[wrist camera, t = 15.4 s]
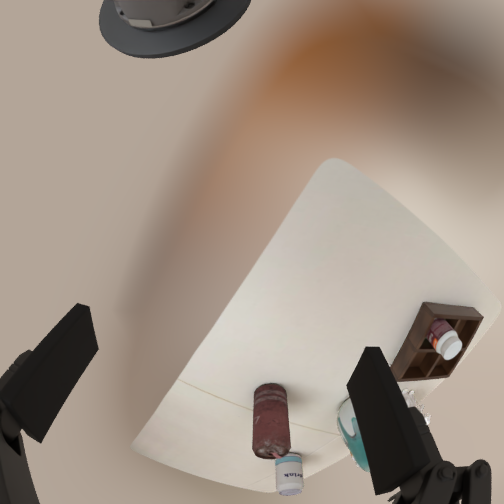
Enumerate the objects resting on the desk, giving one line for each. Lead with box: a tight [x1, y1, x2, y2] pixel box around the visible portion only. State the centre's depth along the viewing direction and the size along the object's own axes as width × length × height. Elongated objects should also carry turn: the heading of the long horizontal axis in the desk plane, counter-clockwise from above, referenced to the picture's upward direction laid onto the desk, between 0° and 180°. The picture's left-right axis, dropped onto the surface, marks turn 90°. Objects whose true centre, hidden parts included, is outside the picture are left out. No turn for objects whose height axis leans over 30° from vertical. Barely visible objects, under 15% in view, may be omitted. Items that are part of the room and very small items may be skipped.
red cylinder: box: [252, 384, 291, 459], centre depth 41 cm, size 6×6×14 cm
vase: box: [337, 398, 370, 472], centre depth 40 cm, size 12×12×18 cm
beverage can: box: [275, 453, 304, 496], centre depth 51 cm, size 7×7×12 cm
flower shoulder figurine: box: [402, 389, 431, 425], centre depth 43 cm, size 9×4×12 cm, turn 61°
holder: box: [390, 302, 484, 382], centre depth 41 cm, size 15×15×4 cm
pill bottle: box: [426, 318, 462, 360], centre depth 37 cm, size 5×5×8 cm
